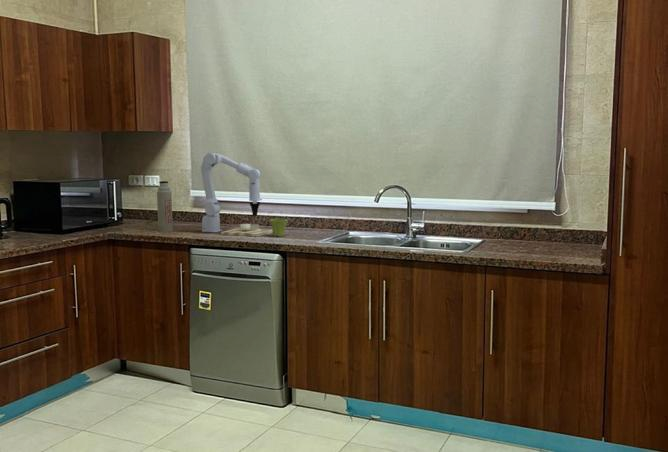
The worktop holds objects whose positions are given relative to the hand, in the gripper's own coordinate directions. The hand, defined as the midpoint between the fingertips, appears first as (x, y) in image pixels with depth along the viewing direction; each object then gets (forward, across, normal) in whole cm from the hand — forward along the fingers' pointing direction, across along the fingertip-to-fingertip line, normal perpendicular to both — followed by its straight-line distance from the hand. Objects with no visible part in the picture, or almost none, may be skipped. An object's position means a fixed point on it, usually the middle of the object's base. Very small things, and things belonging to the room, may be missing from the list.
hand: (254, 215), depth 375 cm
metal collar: (+8, -5, +5) cm, 11 cm away
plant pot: (+10, -16, -12) cm, 22 cm away
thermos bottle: (+10, +15, +51) cm, 54 cm away
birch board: (+9, -5, +4) cm, 12 cm away
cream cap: (+7, -5, +3) cm, 9 cm away
